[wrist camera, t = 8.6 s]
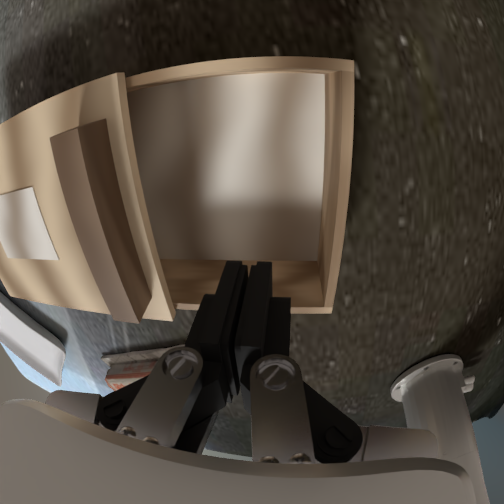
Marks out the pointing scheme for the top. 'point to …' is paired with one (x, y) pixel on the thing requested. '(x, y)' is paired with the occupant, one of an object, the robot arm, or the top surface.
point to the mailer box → (247, 171)
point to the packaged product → (131, 366)
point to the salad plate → (31, 341)
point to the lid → (79, 207)
